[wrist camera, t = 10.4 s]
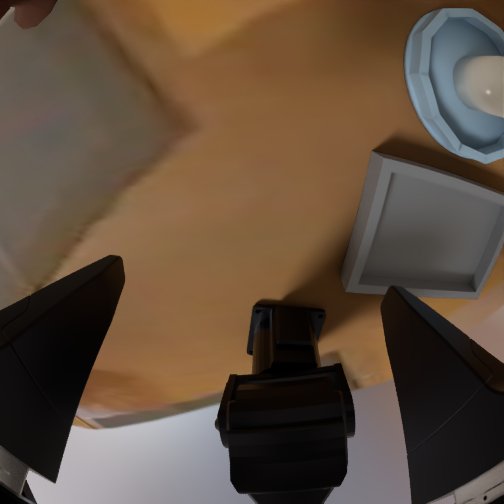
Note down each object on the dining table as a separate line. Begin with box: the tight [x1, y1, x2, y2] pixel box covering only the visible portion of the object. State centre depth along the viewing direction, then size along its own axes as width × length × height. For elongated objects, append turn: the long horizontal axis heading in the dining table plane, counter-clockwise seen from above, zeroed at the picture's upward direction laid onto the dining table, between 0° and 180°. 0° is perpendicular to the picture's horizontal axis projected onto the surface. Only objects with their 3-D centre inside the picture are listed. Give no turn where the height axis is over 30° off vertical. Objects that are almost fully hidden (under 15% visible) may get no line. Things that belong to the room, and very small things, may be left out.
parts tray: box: [340, 151, 504, 299], centre depth 20 cm, size 10×15×2 cm
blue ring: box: [404, 8, 504, 164], centre depth 13 cm, size 12×12×2 cm
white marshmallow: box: [453, 56, 504, 118], centre depth 12 cm, size 4×4×4 cm
